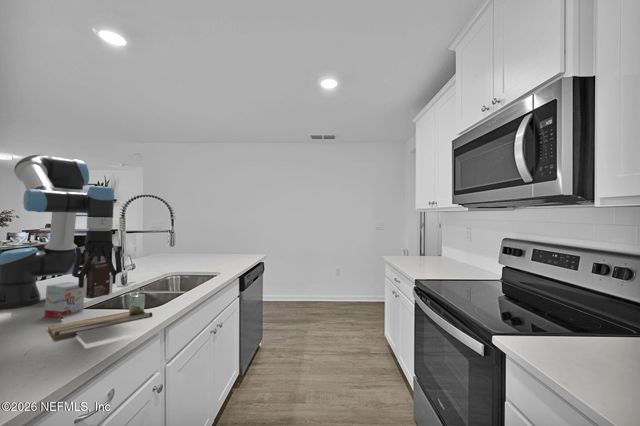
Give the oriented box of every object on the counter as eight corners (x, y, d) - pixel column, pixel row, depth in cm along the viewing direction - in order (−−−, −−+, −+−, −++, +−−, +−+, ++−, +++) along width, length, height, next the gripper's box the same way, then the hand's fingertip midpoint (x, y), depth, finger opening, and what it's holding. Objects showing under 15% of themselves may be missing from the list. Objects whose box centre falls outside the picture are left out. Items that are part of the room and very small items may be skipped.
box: (93, 299, 104) (94, 264, 105) (84, 297, 106) (84, 263, 106) (110, 294, 110) (111, 261, 110) (101, 293, 111) (101, 260, 112)
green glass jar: (127, 313, 117) (127, 295, 117) (141, 310, 121) (142, 293, 121) (131, 316, 114) (132, 297, 114) (146, 313, 118) (146, 295, 118)
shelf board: (48, 330, 102) (48, 322, 102) (140, 312, 123) (140, 306, 123) (55, 340, 94) (55, 332, 94) (152, 319, 115) (152, 312, 115)
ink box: (62, 318, 113) (63, 286, 113) (43, 316, 115) (45, 285, 115) (84, 312, 122) (85, 282, 122) (66, 310, 123) (68, 281, 124)
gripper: (66, 230, 98) (63, 302, 98) (134, 230, 113) (132, 292, 113) (61, 229, 103) (58, 297, 103) (127, 229, 118) (125, 288, 118)
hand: (97, 294), depth 108 cm, fingers closed on box, 7 cm apart
